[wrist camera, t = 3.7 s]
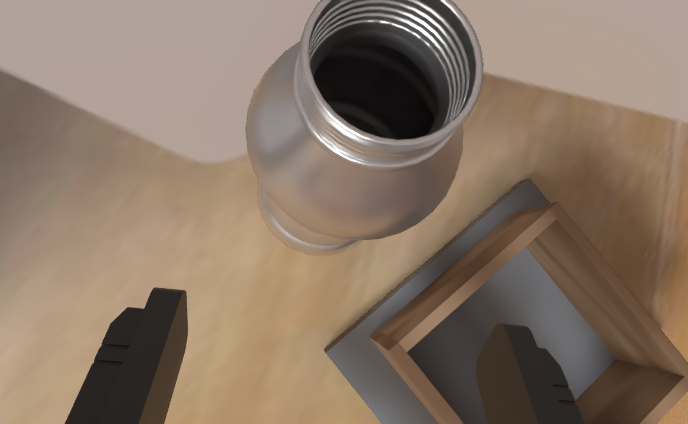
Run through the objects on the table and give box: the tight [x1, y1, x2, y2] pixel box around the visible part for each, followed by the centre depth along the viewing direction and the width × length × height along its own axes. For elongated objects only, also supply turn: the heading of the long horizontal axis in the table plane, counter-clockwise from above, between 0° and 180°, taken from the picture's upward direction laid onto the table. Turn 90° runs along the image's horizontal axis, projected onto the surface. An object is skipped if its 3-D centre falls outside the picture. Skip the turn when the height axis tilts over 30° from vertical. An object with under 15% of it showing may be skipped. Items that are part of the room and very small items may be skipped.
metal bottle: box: [246, 0, 483, 256], centre depth 19 cm, size 6×7×20 cm
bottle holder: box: [324, 178, 688, 424], centre depth 27 cm, size 16×13×6 cm
